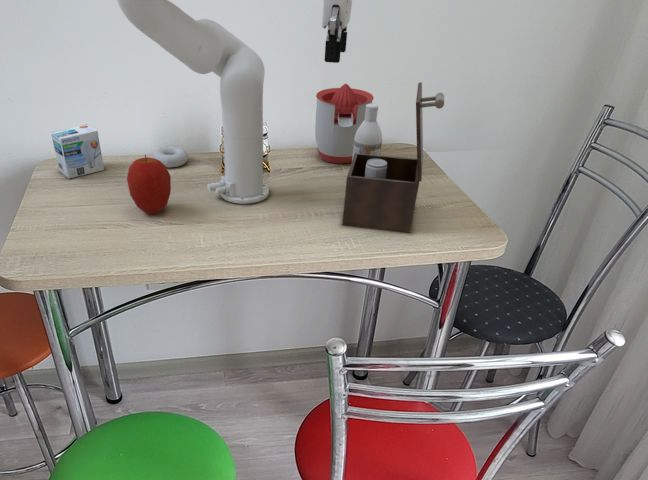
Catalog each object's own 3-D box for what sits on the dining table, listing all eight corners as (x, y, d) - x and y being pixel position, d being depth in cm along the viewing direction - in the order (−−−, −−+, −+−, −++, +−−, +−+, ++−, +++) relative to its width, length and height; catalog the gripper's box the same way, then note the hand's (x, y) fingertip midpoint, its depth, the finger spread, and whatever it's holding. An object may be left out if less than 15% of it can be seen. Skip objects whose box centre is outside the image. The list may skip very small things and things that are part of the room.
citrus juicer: (313, 169, 157) (317, 93, 144) (311, 146, 170) (315, 75, 158) (369, 170, 157) (379, 94, 144) (363, 147, 170) (371, 76, 157)
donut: (185, 154, 165) (151, 157, 163) (184, 143, 163) (149, 145, 161) (192, 167, 158) (156, 171, 155) (191, 155, 156) (155, 158, 153)
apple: (182, 211, 137) (176, 154, 128) (147, 224, 131) (139, 166, 122) (158, 197, 142) (151, 142, 134) (123, 209, 137) (114, 153, 128)
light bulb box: (69, 179, 151) (59, 138, 144) (58, 171, 155) (49, 131, 148) (105, 169, 156) (98, 130, 149) (94, 162, 160) (87, 123, 153)
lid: (415, 102, 112) (444, 99, 110) (418, 82, 122) (444, 79, 121) (417, 182, 121) (443, 179, 120) (419, 157, 132) (443, 154, 131)
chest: (342, 225, 132) (347, 176, 124) (349, 199, 143) (354, 152, 135) (409, 233, 129) (419, 183, 121) (412, 205, 140) (421, 158, 132)
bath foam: (361, 191, 146) (371, 111, 133) (344, 182, 151) (352, 103, 138) (381, 185, 149) (392, 106, 136) (364, 176, 154) (373, 99, 141)
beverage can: (367, 205, 138) (373, 156, 131) (384, 210, 136) (391, 161, 128) (356, 211, 135) (362, 162, 128) (373, 217, 133) (380, 168, 125)
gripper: (330, -43, 120) (324, 47, 130) (316, -34, 107) (311, 65, 118) (365, -42, 118) (356, 49, 129) (356, -32, 105) (347, 67, 116)
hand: (335, 56), depth 123 cm, fingers open, 9 cm apart
